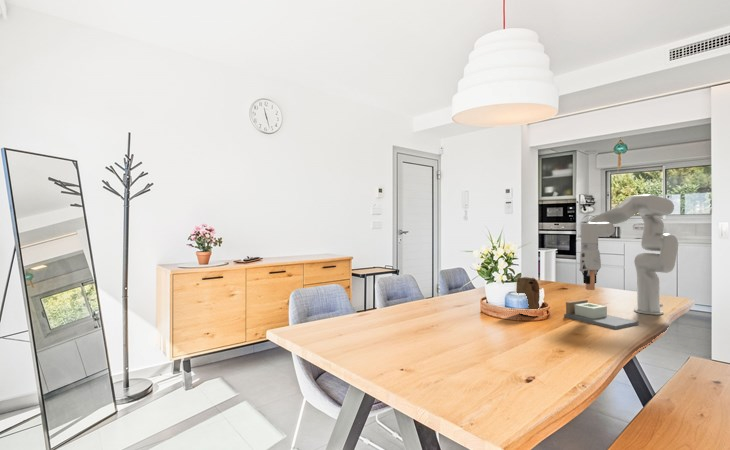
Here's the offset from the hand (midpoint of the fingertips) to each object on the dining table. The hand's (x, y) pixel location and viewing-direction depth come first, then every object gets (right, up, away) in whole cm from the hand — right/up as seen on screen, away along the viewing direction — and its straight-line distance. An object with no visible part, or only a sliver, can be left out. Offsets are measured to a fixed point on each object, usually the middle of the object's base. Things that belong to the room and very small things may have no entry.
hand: (589, 282), depth 190 cm
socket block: (0, -16, 0) cm, 16 cm away
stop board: (+2, -18, -4) cm, 19 cm away
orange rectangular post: (0, -3, 0) cm, 3 cm away
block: (-27, -19, +9) cm, 34 cm away
